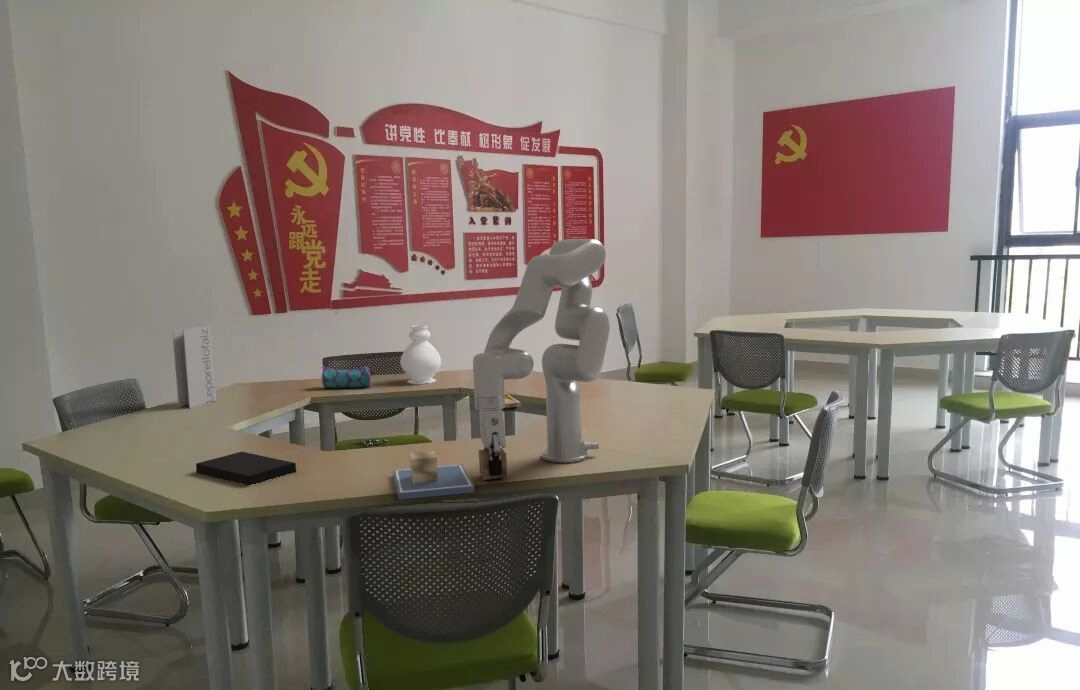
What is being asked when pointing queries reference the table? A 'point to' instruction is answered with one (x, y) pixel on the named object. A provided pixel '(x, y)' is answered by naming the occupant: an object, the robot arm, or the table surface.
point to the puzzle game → (510, 403)
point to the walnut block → (485, 464)
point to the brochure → (194, 366)
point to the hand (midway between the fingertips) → (493, 470)
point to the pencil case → (346, 378)
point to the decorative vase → (420, 357)
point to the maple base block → (423, 467)
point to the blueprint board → (434, 483)
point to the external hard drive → (245, 468)
